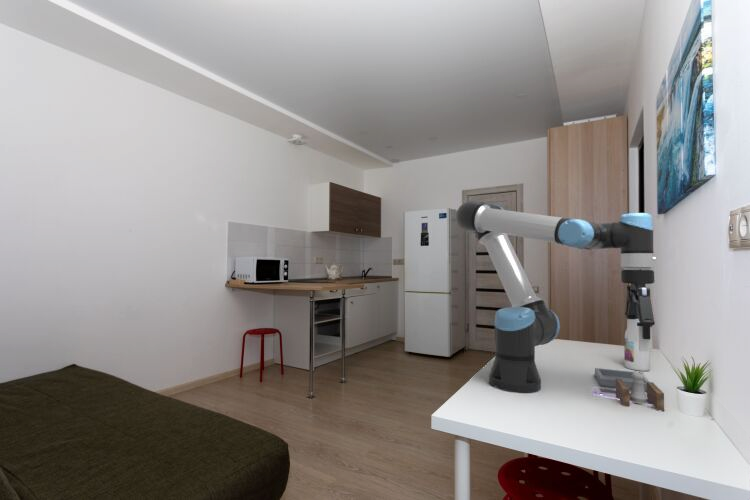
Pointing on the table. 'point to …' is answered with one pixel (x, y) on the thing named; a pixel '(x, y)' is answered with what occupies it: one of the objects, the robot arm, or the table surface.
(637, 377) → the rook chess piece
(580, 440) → the table surface
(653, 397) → the walnut bracket
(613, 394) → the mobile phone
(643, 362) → the milk bottle
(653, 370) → the table surface
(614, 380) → the charcoal tray
